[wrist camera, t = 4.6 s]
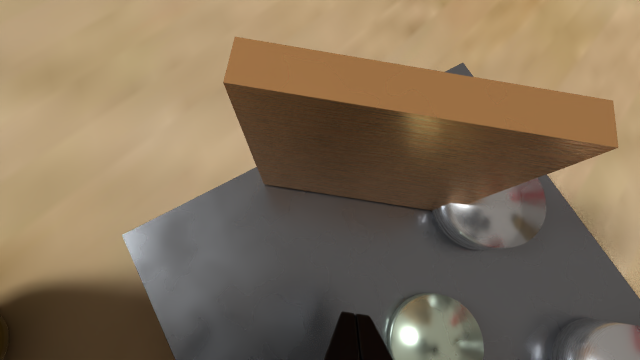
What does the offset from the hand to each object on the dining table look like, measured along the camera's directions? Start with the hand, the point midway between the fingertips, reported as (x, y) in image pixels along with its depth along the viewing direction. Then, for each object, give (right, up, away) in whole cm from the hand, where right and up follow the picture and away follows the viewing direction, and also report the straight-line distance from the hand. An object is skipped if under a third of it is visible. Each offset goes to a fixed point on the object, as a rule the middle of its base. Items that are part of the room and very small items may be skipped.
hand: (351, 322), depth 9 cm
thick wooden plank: (+3, +3, +7) cm, 8 cm away
